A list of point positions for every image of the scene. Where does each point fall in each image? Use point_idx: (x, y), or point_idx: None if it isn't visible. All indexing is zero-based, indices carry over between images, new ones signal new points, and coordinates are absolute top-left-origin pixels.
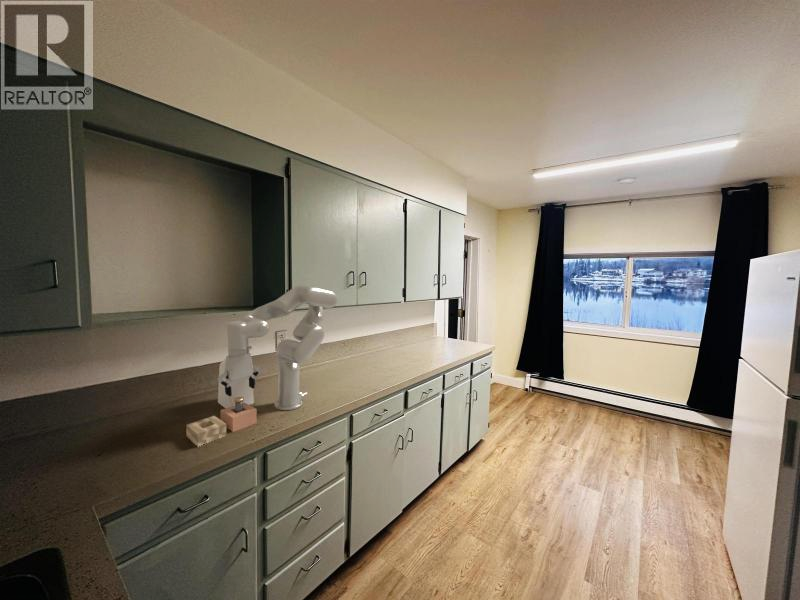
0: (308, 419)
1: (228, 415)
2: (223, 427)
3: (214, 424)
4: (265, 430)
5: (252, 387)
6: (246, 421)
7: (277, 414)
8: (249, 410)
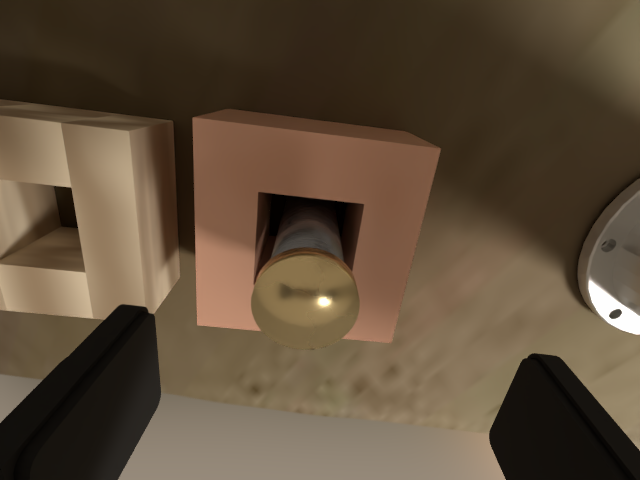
0: None
1: (196, 266)
2: None
3: (80, 273)
4: (342, 373)
5: (496, 446)
6: None
7: (517, 293)
8: None
